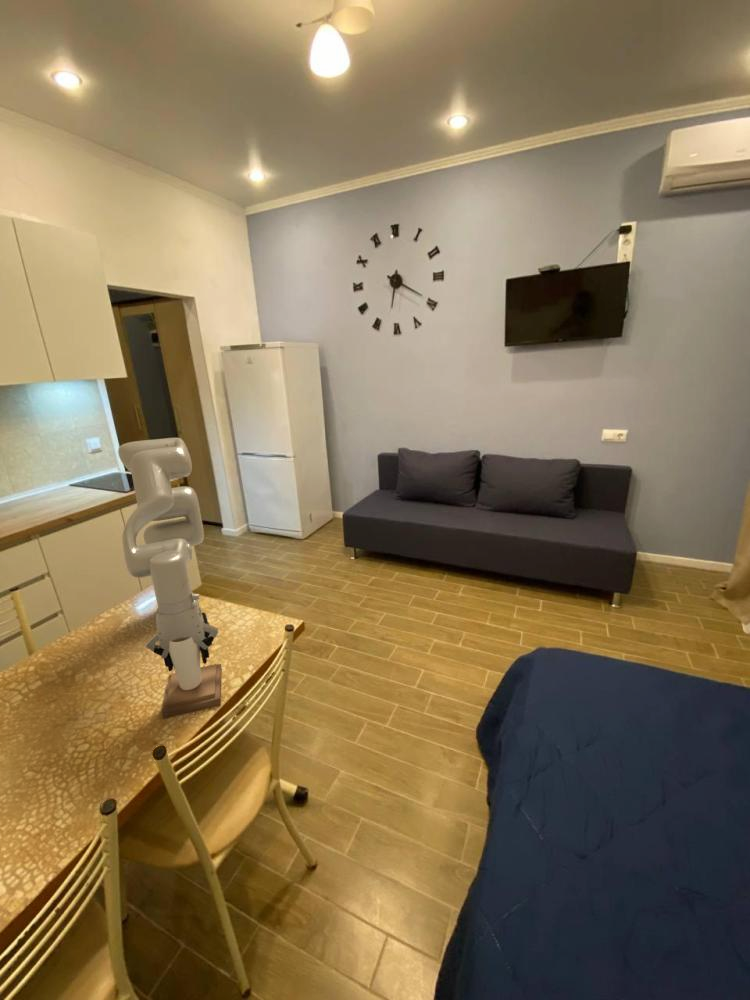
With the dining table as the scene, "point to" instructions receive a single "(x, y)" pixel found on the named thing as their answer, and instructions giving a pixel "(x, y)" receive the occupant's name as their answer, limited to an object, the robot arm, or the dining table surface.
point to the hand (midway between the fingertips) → (188, 663)
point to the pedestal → (193, 693)
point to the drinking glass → (186, 663)
